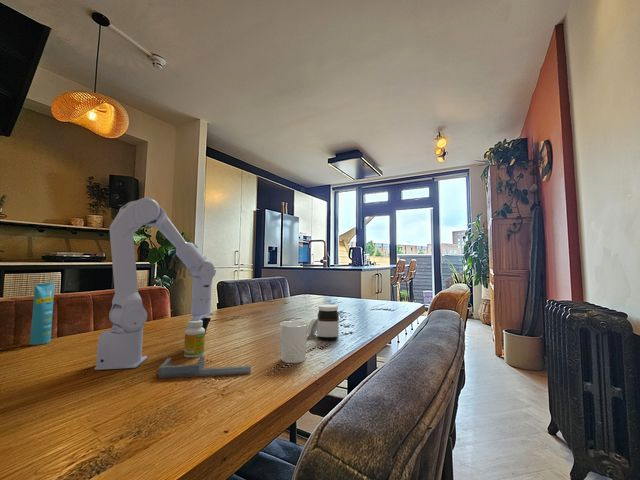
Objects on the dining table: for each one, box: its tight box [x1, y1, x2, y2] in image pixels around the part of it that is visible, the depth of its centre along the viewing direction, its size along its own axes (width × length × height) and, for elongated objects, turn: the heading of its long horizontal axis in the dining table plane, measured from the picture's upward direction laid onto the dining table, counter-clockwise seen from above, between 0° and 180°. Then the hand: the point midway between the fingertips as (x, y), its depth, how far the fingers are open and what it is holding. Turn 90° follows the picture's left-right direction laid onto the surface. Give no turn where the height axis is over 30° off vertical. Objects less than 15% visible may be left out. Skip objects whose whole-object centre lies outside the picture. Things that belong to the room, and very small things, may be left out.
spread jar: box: [307, 303, 340, 342], centre depth 107 cm, size 12×11×12 cm
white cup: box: [279, 320, 309, 364], centre depth 84 cm, size 8×8×10 cm
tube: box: [29, 281, 55, 346], centre depth 95 cm, size 7×5×19 cm, turn 13°
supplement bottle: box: [183, 319, 206, 359], centre depth 86 cm, size 5×5×10 cm
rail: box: [157, 356, 252, 379], centre depth 74 cm, size 21×6×2 cm, turn 101°
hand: (199, 342), depth 94 cm, fingers closed
